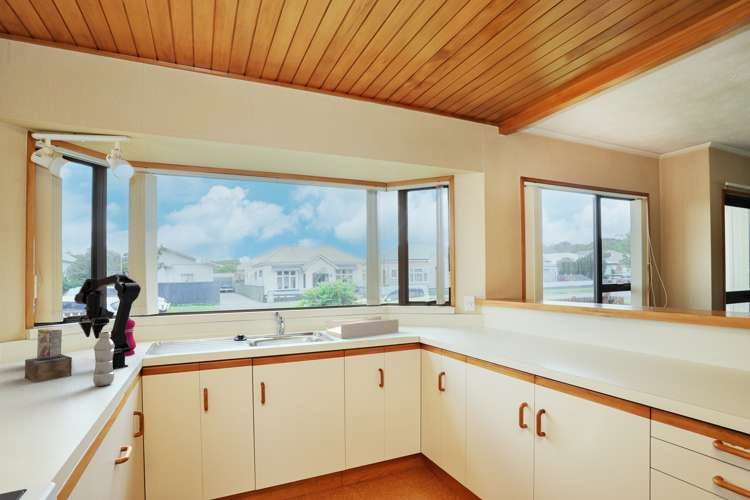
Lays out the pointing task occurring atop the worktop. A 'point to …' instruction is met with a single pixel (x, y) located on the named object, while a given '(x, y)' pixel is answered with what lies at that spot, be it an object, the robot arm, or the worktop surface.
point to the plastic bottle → (104, 360)
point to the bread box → (360, 327)
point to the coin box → (48, 368)
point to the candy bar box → (49, 342)
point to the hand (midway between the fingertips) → (92, 337)
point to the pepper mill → (130, 336)
